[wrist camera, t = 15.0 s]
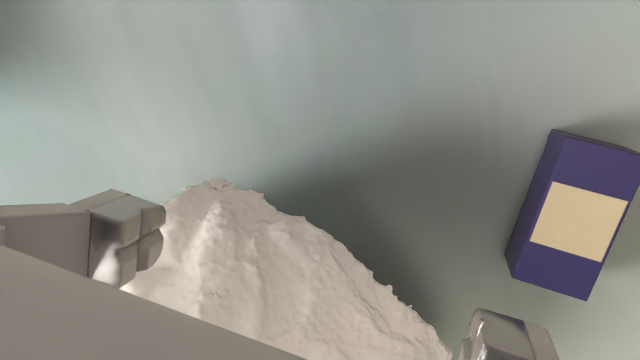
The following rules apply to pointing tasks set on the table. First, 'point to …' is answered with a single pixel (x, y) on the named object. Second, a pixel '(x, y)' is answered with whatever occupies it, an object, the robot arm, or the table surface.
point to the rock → (277, 281)
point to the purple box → (572, 213)
